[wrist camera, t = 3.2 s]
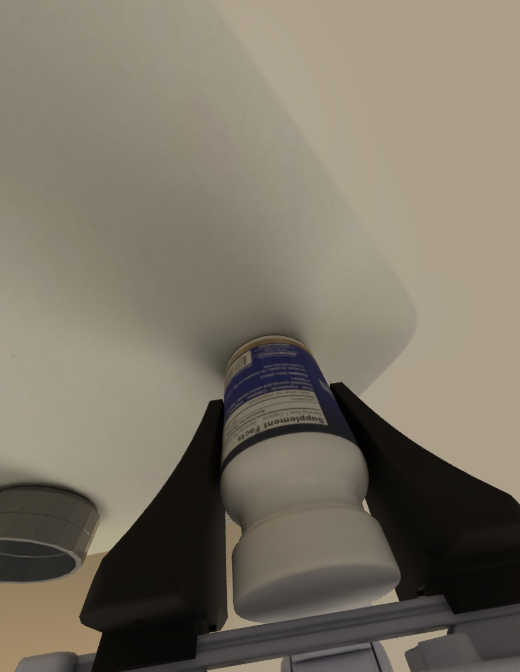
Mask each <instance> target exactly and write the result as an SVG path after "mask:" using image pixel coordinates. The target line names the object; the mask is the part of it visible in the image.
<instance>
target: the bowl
mask: <svg viewBox="0 0 520 672" xmlns="http://www.w3.org/2000/svg"><path fill="white" fill-rule="evenodd" d="M98 526H99V515H98V514H97V511H96V509H95V507H94V506H93V504H91V503H90V502H89V501H88V500H86V499H85V498H83V497H81V496H79V495H76V494H74V493H71V492H68V491H64V490H60V489H55V488H48V487H38V486H26V487H15V488H9V489H6V490H2V491H0V583H11V584H27V583H42V582H48V581H53V580H58V579H62V578H65V577H67V576H69V575H72V574H74V573H76V572H77V570H79V569H80V568H81V567H82V564H83V561H84V559H85V557H86V555H87V552H88V550H89V547H90V545H91V542H92V540H93V538H94V535H95V533H96V530H97V528H98Z"/></svg>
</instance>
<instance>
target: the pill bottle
mask: <svg viewBox="0 0 520 672" xmlns="http://www.w3.org/2000/svg"><path fill="white" fill-rule="evenodd" d="M368 484H369V472H368V467H367V463H366V461H365V458H364V456H363V454H362V451H361V449H360V447H359V445H358V443H357V441H356V439H355V437H354V435H353V433H352V431H351V429H350V428H349V426H348V424H347V422H346V420H345V418H344V416H343V414H342V412H341V410H340V408H339V406H338V404H337V402H336V400H335V398H334V396H333V394H332V392H331V390H330V388H329V386H328V384H327V382H326V380H325V378H324V376H323V374H322V372H321V370H320V368H319V366H318V364H317V362H316V360H315V358H314V357H313V355H312V353H311V352H310V350H309V349H308V348H307V347H306V346H305V345H303V344H302V343H301V342H299V341H297V340H295V339H292V338H289V337H285V336H264V337H260V338H257V339H254V340H252V341H250V342H248V343H246V344H244V345H243V346H242V347H240V348H239V349H238V350H237V351H236V352H235V353H234V354H233V356H232V357H231V359H230V361H229V363H228V365H227V368H226V373H225V388H224V412H223V433H222V452H221V469H220V494H221V499H222V503H223V505H224V508H225V510H226V512H227V514H228V515H229V516H230V518H231V519H232V520H233V521H234V522H235V523H236V524H237V525H239V526H240V527H241V530H242V536H241V537H240V539H239V542H238V543H237V544H236V545H235V547H234V549H233V553H232V572H233V605H234V610H235V612H236V614H237V615H239V616H240V617H241V618H243V619H246V620H249V621H254V622H260V623H275V622H281V621H287V620H293V619H299V618H304V617H310V616H316V615H322V614H328V613H334V612H340V611H346V610H352V609H357V608H359V607H362V606H365V605H367V604H369V603H372V602H374V601H376V600H378V599H380V598H381V597H383V596H385V595H386V594H388V593H389V592H391V591H392V590H393V589H394V588H395V587H396V586H397V585H398V583H399V582H400V578H401V575H400V570H399V567H398V565H397V562H396V560H395V558H394V555H393V553H392V551H391V548H390V546H389V544H388V541H387V539H386V537H385V535H384V533H383V530H382V528H381V526H380V524H379V522H378V521H377V520H376V519H375V518H374V517H372V516H371V515H370V514H369V513H367V512H366V511H365V510H364V508H363V505H362V502H363V500H364V498H365V496H366V493H367V490H368Z"/></svg>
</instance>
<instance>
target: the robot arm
mask: <svg viewBox="0 0 520 672" xmlns="http://www.w3.org/2000/svg"><path fill="white" fill-rule="evenodd" d="M330 390H331V392H332V394H333V396H334V398H335V400H336V402H337V404H338V406H339V408H340V410H341V412H342V414H343V416H344V418H345V420H346V422H347V424H348V426H349V428H350V429H351V431H352V433H353V435H354V437H355V439H356V441H357V443H358V445H359V447H360V449H361V451H362V454H363V456H364V458H365V461H366V463H367V467H368V472H369V484H368V490H367V493H366V496H365V499H366V502H367V505H368V508H369V511H370V513H371V516H372V517H374V518H375V519H376V520H377V521H378V522H379V524H380V526H381V528H382V530H383V533H384V535H385V537H386V539H387V541H388V544H389V546H390V548H391V551H392V553H393V555H394V558H395V560H396V562H397V565H398V567H399V570H400V575H401V578H400V582H399V583H398V585H397V586H396V587H395V590H396V594H397V596H398V599H399V601H400V602H394V603H388V604H382V605H376V606H371V603H369V604H367V605H365V606H362V607H359V608H357V609H352V610H346V611H340V612H334V613H328V614H322V615H316V616H310V617H304V618H299V619H293V620H287V621H281V622H275V623H269V624H263V625H257V626H251V627H245V628H240V629H234V630H227V631H221V632H216V631H220V630H221V629H222V627H223V626H224V624H225V622H226V620H227V618H228V613H227V587H226V586H227V585H226V544H225V543H226V539H225V538H226V537H225V536H226V535H225V508H224V505H223V503H222V499H221V494H220V469H221V452H222V433H223V412H224V403H223V400H222V399H219V400H212V401H210V402H209V404H208V407H207V409H206V412H205V414H204V416H203V419H202V421H201V423H200V425H199V427H198V429H197V431H196V433H195V435H194V437H193V439H192V441H191V443H190V445H189V446H188V448H187V450H186V452H185V453H184V455H183V457H182V459H181V460H180V462H179V464H178V465H177V467H176V468H175V470H174V471H173V473H172V474H171V476H170V477H169V479H168V480H167V482H166V483H165V484H164V486H163V487H162V489H161V490H160V491H159V493H158V494H157V496H156V497H155V498H154V499H153V501H152V502H151V503H150V505H149V506H148V507H147V508H146V510H145V511H144V512H143V513H142V514H141V516H140V517H139V518H138V519H137V521H136V522H135V523H134V524H133V525H132V527H131V528H130V529H129V530H128V531H127V532H126V534H125V535H124V536H123V537H122V538H121V539H120V540H119V541H118V542H117V544H116V545H115V546H114V547H113V548H112V549H111V550H110V551H109V552H108V554H107V555H106V556H105V557H104V558H103V559H102V561H101V563H100V566H99V568H98V570H97V572H96V574H95V576H94V579H93V581H92V584H91V586H90V589H89V592H88V594H87V597H86V600H85V602H84V605H83V608H82V611H81V613H80V616H79V617H80V621H81V623H82V624H84V625H85V626H87V627H90V628H92V629H95V630H97V631H100V632H102V637H101V640H100V643H99V647H98V650H97V652H96V653H90V654H84V655H78V656H77V654H76V653H73V652H54V653H48V654H42V655H36V656H31V657H24V658H23V659H22V660H21V661H20V662H19V663H18V666H17V668H16V670H15V672H207V671H206V670H212V669H217V668H223V667H229V666H235V665H241V664H246V663H252V662H258V661H264V660H270V659H276V658H281V657H283V660H282V662H281V672H394V671H393V669H392V666H391V663H390V661H389V658H388V656H387V654H386V652H385V649H384V647H383V645H382V644H381V643H380V642H379V641H380V640H386V639H392V638H398V637H403V636H409V635H415V634H421V633H426V632H433V631H438V630H444V629H448V631H447V635H445V636H442V637H438V638H434V639H430V640H426V641H422V642H418V646H416V647H415V648H413V649H410V650H408V651H406V652H405V657H406V660H407V662H408V665H409V668H410V671H411V672H520V504H519V503H518V502H517V501H516V500H515V499H514V498H513V497H512V496H511V495H510V494H508V493H506V492H504V491H502V490H499V489H498V488H495V487H493V486H491V485H489V484H487V483H485V482H483V481H481V480H479V479H477V478H475V477H473V476H471V475H469V474H467V473H466V472H464V471H462V470H460V469H458V468H456V467H454V466H453V465H451V464H449V463H447V462H446V461H444V460H442V459H440V458H439V457H437V456H435V455H434V454H432V453H431V452H429V451H427V450H426V449H424V448H422V447H421V446H419V445H418V444H416V443H415V442H413V441H412V440H410V439H409V438H408V437H406V436H405V435H403V434H402V433H401V432H399V431H398V430H396V429H395V428H394V427H392V426H391V425H390V424H389V423H387V422H386V421H385V420H384V419H382V418H381V417H380V416H379V415H377V414H376V413H375V412H374V411H373V410H372V409H371V408H369V407H368V406H367V405H366V404H365V403H364V402H363V401H361V400H360V399H359V398H358V397H357V396H356V395H355V394H354V393H353V392H352V391H351V390H350V389H349V388H348V387H347V386H345V385H344V384H343V383H342V382H339V383H332V384H330ZM210 632H215V633H210ZM209 633H210V634H209Z"/></svg>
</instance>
